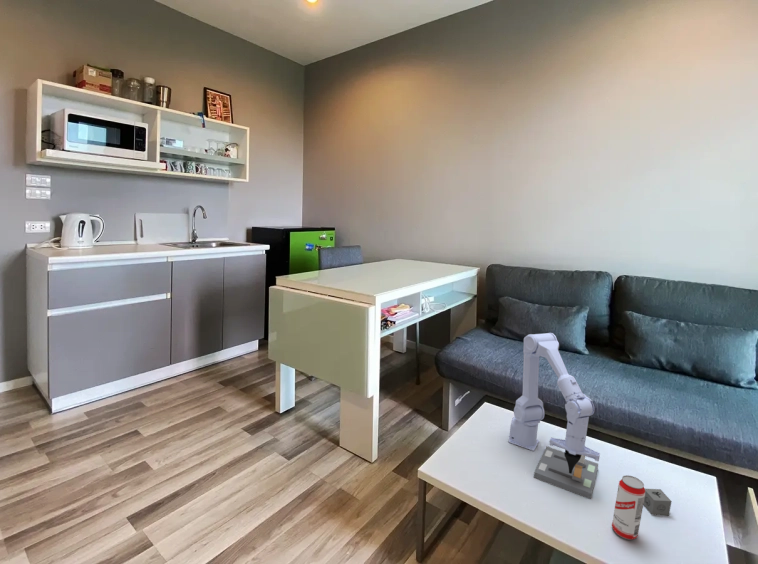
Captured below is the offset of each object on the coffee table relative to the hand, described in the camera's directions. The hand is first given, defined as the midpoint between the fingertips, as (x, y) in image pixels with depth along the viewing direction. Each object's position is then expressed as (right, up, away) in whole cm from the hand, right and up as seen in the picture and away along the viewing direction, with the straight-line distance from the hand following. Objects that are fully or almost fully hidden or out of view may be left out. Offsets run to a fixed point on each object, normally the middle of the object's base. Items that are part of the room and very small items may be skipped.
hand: (570, 471), depth 132 cm
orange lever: (+2, -2, -1) cm, 3 cm away
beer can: (+6, -8, -19) cm, 22 cm away
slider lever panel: (+1, -3, +5) cm, 6 cm away
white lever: (+7, -1, +7) cm, 9 cm away
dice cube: (+21, -7, -10) cm, 24 cm away
